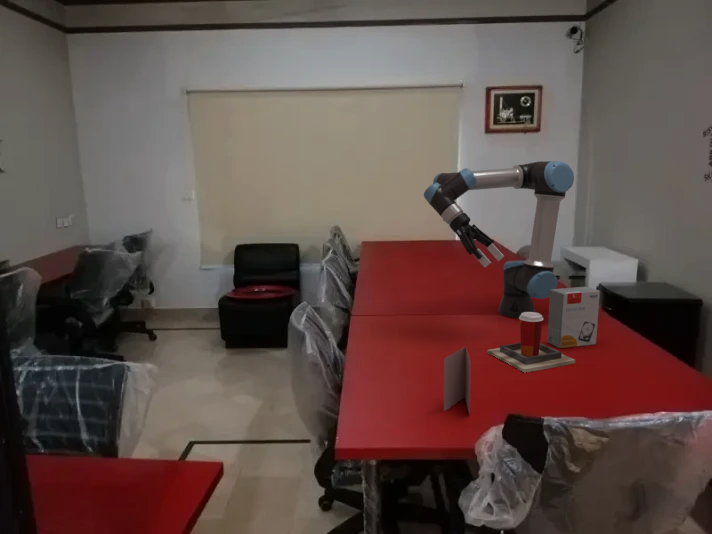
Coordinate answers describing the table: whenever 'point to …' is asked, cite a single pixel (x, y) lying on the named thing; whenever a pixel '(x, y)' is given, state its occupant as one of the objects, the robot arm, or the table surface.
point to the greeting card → (457, 378)
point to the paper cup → (530, 333)
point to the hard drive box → (573, 316)
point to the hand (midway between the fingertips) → (494, 261)
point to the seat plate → (528, 364)
